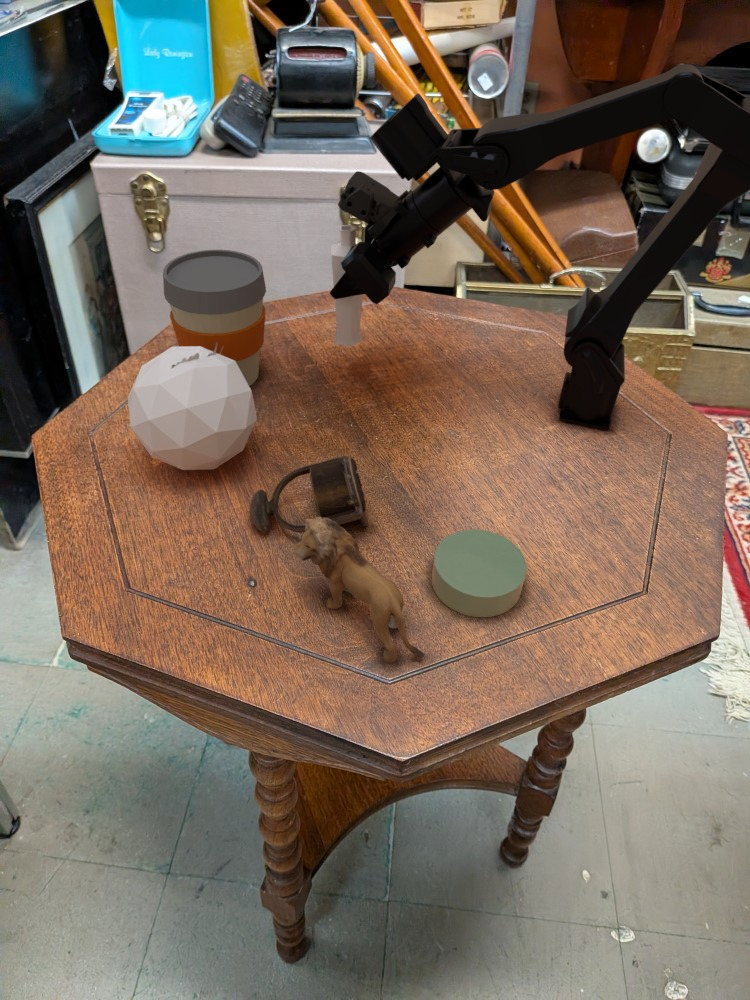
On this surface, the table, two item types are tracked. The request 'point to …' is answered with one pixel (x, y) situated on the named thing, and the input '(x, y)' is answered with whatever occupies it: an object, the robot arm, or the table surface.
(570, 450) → the table surface
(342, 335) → the perfume bottle
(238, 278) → the reusable coffee cup
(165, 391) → the geodesic sphere
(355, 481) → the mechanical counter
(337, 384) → the table surface
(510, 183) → the robot arm
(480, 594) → the ceramic stand
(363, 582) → the lion figurine
